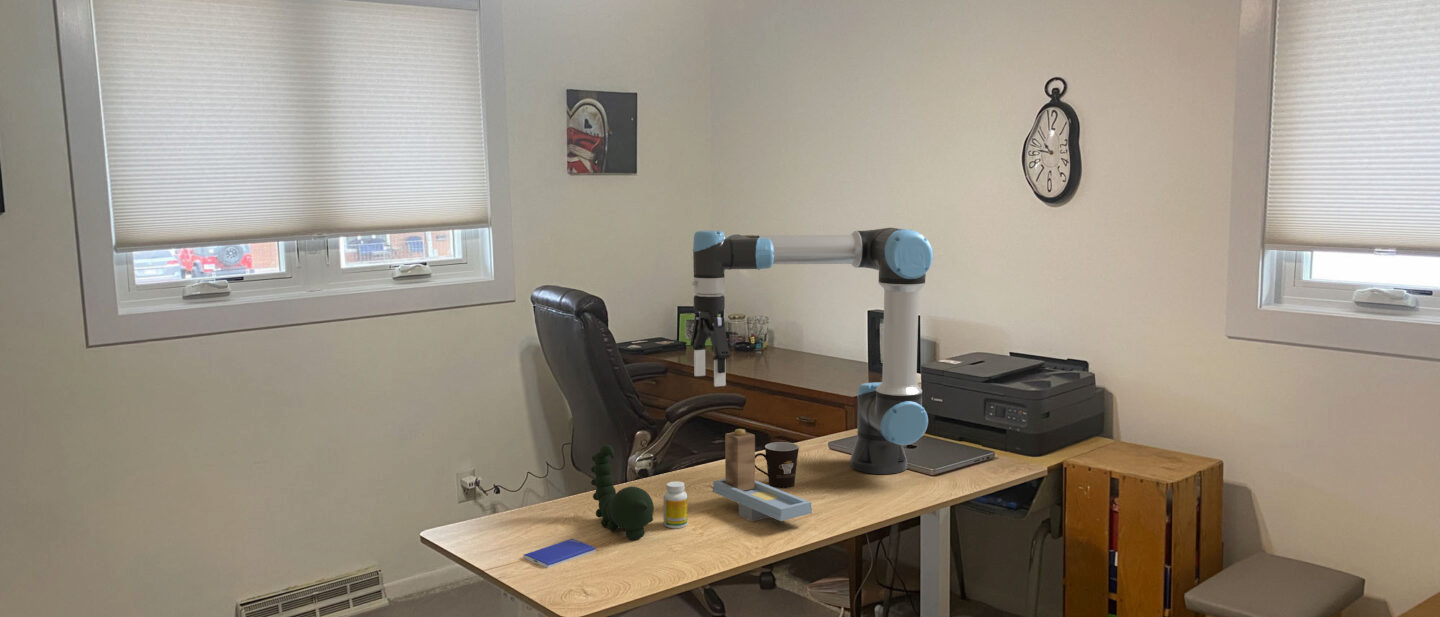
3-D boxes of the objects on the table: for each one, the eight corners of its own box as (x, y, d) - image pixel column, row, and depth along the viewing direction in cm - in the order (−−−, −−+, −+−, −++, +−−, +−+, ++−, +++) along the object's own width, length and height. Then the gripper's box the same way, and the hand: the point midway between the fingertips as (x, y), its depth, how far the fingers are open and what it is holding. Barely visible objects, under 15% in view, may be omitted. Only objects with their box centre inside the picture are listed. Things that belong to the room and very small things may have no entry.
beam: (712, 503, 248) (712, 481, 247) (742, 497, 253) (742, 474, 252) (780, 534, 227) (780, 509, 226) (811, 526, 232) (812, 502, 231)
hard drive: (571, 537, 222) (523, 553, 213) (595, 547, 216) (547, 563, 207) (571, 544, 222) (523, 560, 213) (595, 554, 216) (547, 570, 208)
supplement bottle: (660, 523, 234) (659, 482, 233) (681, 519, 236) (681, 479, 235) (669, 530, 229) (669, 488, 228) (691, 526, 232) (691, 485, 230)
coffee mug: (799, 480, 267) (799, 442, 265) (798, 490, 258) (798, 451, 257) (754, 479, 268) (754, 441, 267) (751, 489, 259) (751, 450, 258)
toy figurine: (583, 525, 237) (628, 550, 216) (578, 444, 236) (624, 460, 215) (620, 519, 242) (668, 542, 220) (616, 439, 241) (664, 454, 219)
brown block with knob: (725, 486, 246) (725, 429, 244) (742, 483, 249) (742, 426, 247) (737, 492, 242) (737, 433, 240) (754, 488, 245) (754, 430, 243)
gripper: (677, 290, 260) (678, 372, 263) (713, 301, 237) (713, 391, 240) (705, 288, 263) (705, 370, 265) (743, 299, 240) (743, 389, 242)
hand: (709, 380), depth 253 cm, fingers open, 13 cm apart
